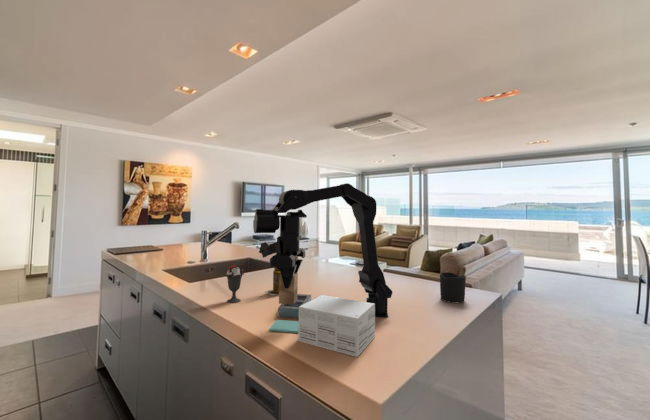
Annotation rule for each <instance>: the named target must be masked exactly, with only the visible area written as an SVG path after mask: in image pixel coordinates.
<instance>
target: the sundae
mask: <svg viewBox="0 0 650 420" xmlns="http://www.w3.org/2000/svg"><path fill="white" fill-rule="evenodd" d="M228 263H229V264H230V266H229V267H228V270H227V272H226V273H225V275H224V276H225V277H226V278H227V287H228V290H230V292H231V294H232V295H231V298H229V299H227V300H226V302H227V303H230V304H236V303H240V302H241V301H242V300H241V298H238V297H237V291H239V289H240V287H241V282H242V278H243V277H242V276H244V275H245V272H243V271H244V267H243V268H242V269H240V267H238V266H236V265H234V264H233V263H232V262H231V260H230V261H228Z"/></svg>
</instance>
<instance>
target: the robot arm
mask: <svg viewBox="0 0 650 420" xmlns="http://www.w3.org/2000/svg"><path fill="white" fill-rule="evenodd" d="M340 197H341V198H342V200H344V201H345V203H346V204H347V205H349V206H350V207H351V209H352V213H353V217H354V218H355V220H356V222H357V223H358V230H359V238H360V244H361V245H360V247H361V253H362V254H361V255H362V262H363V265H362V268H361V270H358V274H357V275H358V276H359V277H358V278H359V279H358V283H360V284H361V286H362V288H364V289H363V290H364V292H365V293H366V294H368V296H367V297H366V301H365V302H368V303H375V317H381V318H388V317H389V313H388V299H391V298H392V295H393V291H392V288H390V287H389V286H388V285H387V284H386V283H387V282H386V279H385V275H384V272H383V270H382V269H381V266H379V259H378V251H377V250H378V249H377V243H376V235H375V225H374V221H375V218H376V215H377V200H376V199H375V198H374V197H373V196H371V195H368V194H367V193H365V192H363V191H361V190H359V189H357V188H356V187H354V186H353V185H352V184H350V183H348V182H347V183H342V184H339V185H335V186H334V185H333V186H328V187H327V186H326V187H323V188H318V189H312V190H311V189H307V190H306V189H289V190H286V191H283V192H282V193H280V195H279V198H278V202H277V203H276V205H275V206H274V207H273V208H272V209H261V208H256V209H255V210H254V218H253V220H252V221H253V223H252V225H253V227H252V228H253V233H254V234H275V233H276V231H277V230H279V236H277V238H276V241H275V242H272V243H269V241H265V242H262V243H260V247H258V249H259V251H258V253H259V254H261V256H262V258H263V259H264V258H266V257H268V256H271V255H272V256H271V257H270V258H269V267H271V268H274V267H276V268H278V269H279V270H280V272H281V275H282V279H283V283H284V287H285V288H289V286H290V283H291V280H292V278H293V275H294V273H299V270H300V267H301V265H302V263H303V261H304V259H305V257H306V250H305V249H304V248H303V247H300V240H302V235H300V230H301V229H300V222H301V221H300V220H301V218H302V219H303V218H304V219H305V218H307V217H308V215H307V214H305V213H304V211H303V210H302V209H300V208H303V207H305V206H308V205H309V204H311V203H315V202H319V201H320V202H321V201H324V200H330V199H335V198H340ZM291 210H293V211H291ZM294 210H297V211H294ZM284 213H286V214H284ZM279 214H284V215H279ZM273 254H274V255H273ZM299 257H300V258H301V259H300V258H299Z"/></svg>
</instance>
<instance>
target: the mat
mask: <svg viewBox="0 0 650 420" xmlns="http://www.w3.org/2000/svg"><path fill="white" fill-rule="evenodd" d="M298 329H299V320H284V319H276V320H275V321H274V322H273V323H272V325H271V326H270V327H269V329H268V331H269V332H278V333H280V332H281V333H291V334H293V333H294V334H298Z"/></svg>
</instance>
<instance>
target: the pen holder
mask: <svg viewBox="0 0 650 420" xmlns="http://www.w3.org/2000/svg"><path fill="white" fill-rule="evenodd" d="M466 279H467V277H466V275H458V274H456V273H454V272H447V271H446V272H440V273H439V287H440V288H439V289H440V299H441V300H442V299H443V300H442V301H444V300H446V301H445V302H447V301H450V302H449V303H452V302H462V303H464V302H465V298H466V297H465V296H466V281H467V280H466ZM463 301H464V302H463Z"/></svg>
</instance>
